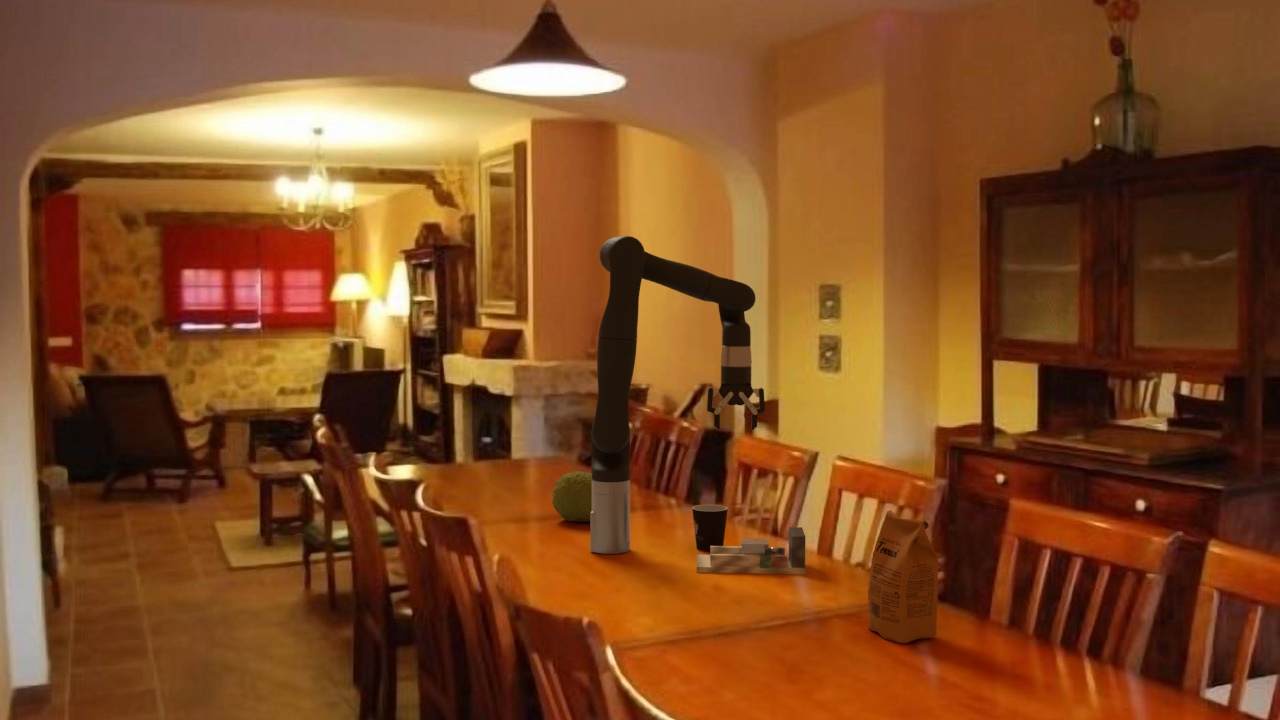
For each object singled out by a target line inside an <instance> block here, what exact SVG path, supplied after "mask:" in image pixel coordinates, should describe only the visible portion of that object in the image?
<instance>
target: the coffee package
mask: <svg viewBox="0 0 1280 720" xmlns="http://www.w3.org/2000/svg"><path fill="white" fill-rule="evenodd" d="M929 526H930V525H929V523H928V522H927V521H926V520H920V519H911V518H910V519H909V518H900V517H899V516H898V515H897V514H896V513H894V512H893V511H892V510H887V511H886V514H885V516H884V520H883V522H882V524H881V527H880V531H879V533H878V537H877V538H876V542H875V546H874V548H873V552H872V556H871V557H872V558H871V565H870V573H869V580H868V581H869V582H868V589H867V595H868V598H867V599H868V626H867V628H868V630H869V631H872V632H877V633H878V634H879V635H880V636H881V638H883V639H885V640H889V641H892V642H896V643H899V644H908V643H910V642H913V641H916V640H918V639H919V640H920V639H928V638H929V639H930V638H932V637H934V636H937V633H938V632H937V628H938V627H937V623H938V622H937V621H938V604H939V602H938V590H939V578H938V577H939V558H938V556H937V553H936V552H935V549H934V547H933V544H932V543H931V540H930V539H929V536H928V534H927V532H926V530H927V529H928V528H929Z"/></svg>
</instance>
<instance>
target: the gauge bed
mask: <svg viewBox="0 0 1280 720" xmlns="http://www.w3.org/2000/svg"><path fill="white" fill-rule="evenodd" d="M772 547H773V548H781V549H782V554H781V555H747V554H741V545H739V546H736V545H735V546H733V545H723V546H710V552H709V553H710V554H697V555H696V573H716V574H718V573H719V574H720V573H721V574H723V573H724V574H760V575H761V574H765V575H767V574H770V575H771V574H773V575H774V574H775V575H806V534H805V531H804V528H803V527H802V526H801V527H800V526H797V527H796V526H794V527H793V526H792V527H791V526H789V527H788V555H787V554H785V551H786V549H785V548H786V547H785V546H772Z"/></svg>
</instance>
